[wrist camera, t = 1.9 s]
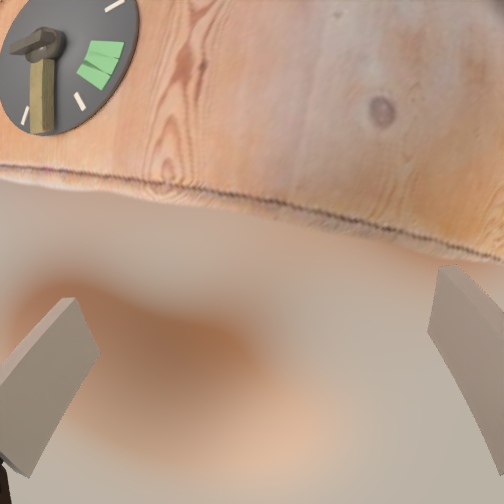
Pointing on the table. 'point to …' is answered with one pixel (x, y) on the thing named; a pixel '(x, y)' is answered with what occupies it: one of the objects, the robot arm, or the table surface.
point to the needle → (41, 73)
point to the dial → (71, 58)
